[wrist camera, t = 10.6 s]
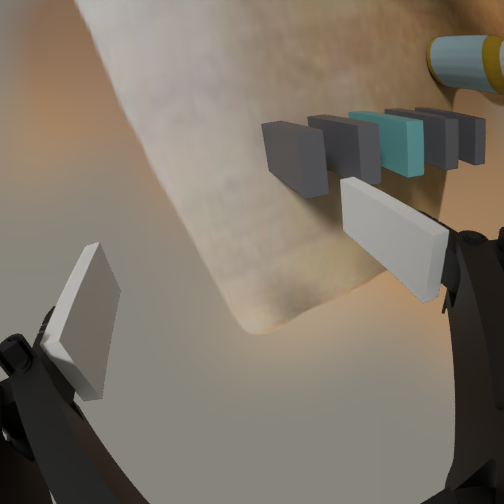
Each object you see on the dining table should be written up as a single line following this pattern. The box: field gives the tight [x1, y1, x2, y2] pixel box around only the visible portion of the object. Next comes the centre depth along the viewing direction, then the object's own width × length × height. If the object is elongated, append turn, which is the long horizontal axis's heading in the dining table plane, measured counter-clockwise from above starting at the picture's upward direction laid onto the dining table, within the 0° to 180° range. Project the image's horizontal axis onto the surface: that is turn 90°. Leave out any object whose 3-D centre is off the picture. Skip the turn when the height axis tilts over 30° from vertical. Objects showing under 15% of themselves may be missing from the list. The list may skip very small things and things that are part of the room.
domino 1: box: [261, 121, 329, 199], centre depth 26 cm, size 2×5×10 cm, turn 11°
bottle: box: [427, 35, 504, 94], centre depth 23 cm, size 7×7×15 cm
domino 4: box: [385, 108, 459, 170], centre depth 28 cm, size 2×5×10 cm, turn 11°
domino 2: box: [307, 115, 381, 185], centre depth 27 cm, size 2×5×10 cm, turn 11°
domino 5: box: [415, 108, 485, 165], centre depth 29 cm, size 2×5×10 cm, turn 11°
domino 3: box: [349, 111, 424, 178], centre depth 28 cm, size 2×5×10 cm, turn 10°
